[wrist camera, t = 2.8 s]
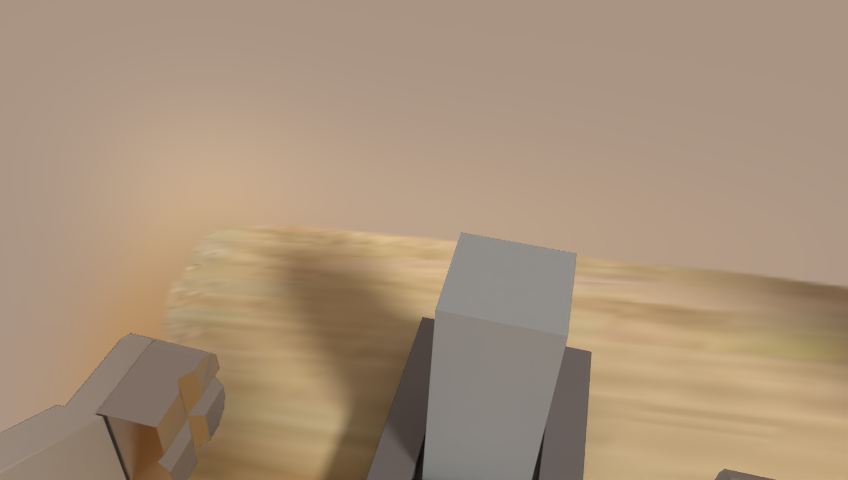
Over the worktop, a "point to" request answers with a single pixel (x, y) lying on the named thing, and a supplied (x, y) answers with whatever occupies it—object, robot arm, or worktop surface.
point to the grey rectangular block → (495, 358)
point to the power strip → (406, 424)
